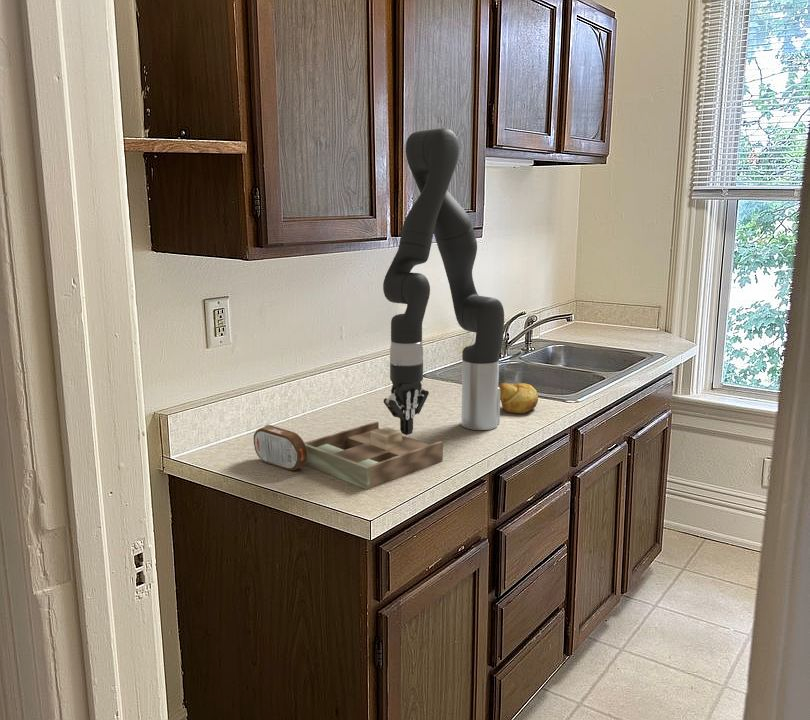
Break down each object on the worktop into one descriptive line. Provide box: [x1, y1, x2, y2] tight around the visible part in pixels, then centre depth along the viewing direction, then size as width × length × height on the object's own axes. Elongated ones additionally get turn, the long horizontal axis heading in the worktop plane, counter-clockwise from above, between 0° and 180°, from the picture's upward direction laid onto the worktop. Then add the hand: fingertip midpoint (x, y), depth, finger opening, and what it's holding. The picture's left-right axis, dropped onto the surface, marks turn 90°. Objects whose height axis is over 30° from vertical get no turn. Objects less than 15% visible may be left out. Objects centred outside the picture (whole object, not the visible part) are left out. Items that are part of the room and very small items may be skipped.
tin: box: [253, 424, 308, 472], centre depth 166 cm, size 15×3×8 cm, turn 51°
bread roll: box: [498, 382, 540, 414], centre depth 208 cm, size 13×10×8 cm
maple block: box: [371, 426, 403, 450], centre depth 170 cm, size 5×5×3 cm
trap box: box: [304, 421, 444, 490], centre depth 168 cm, size 23×22×4 cm
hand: (406, 433), depth 175 cm, fingers closed
